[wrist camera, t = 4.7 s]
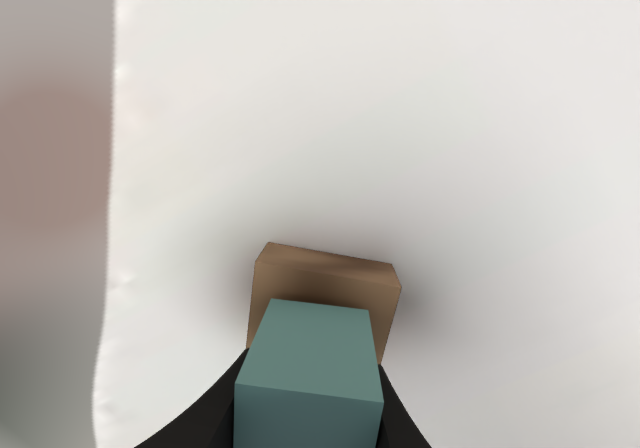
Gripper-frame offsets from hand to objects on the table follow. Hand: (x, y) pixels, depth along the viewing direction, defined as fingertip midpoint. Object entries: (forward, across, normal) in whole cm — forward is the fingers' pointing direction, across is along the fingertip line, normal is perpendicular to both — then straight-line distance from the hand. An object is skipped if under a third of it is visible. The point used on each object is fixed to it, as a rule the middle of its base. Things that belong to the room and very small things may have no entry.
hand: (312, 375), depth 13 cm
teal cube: (+2, 0, 0) cm, 2 cm away
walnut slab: (+6, 0, 0) cm, 6 cm away
